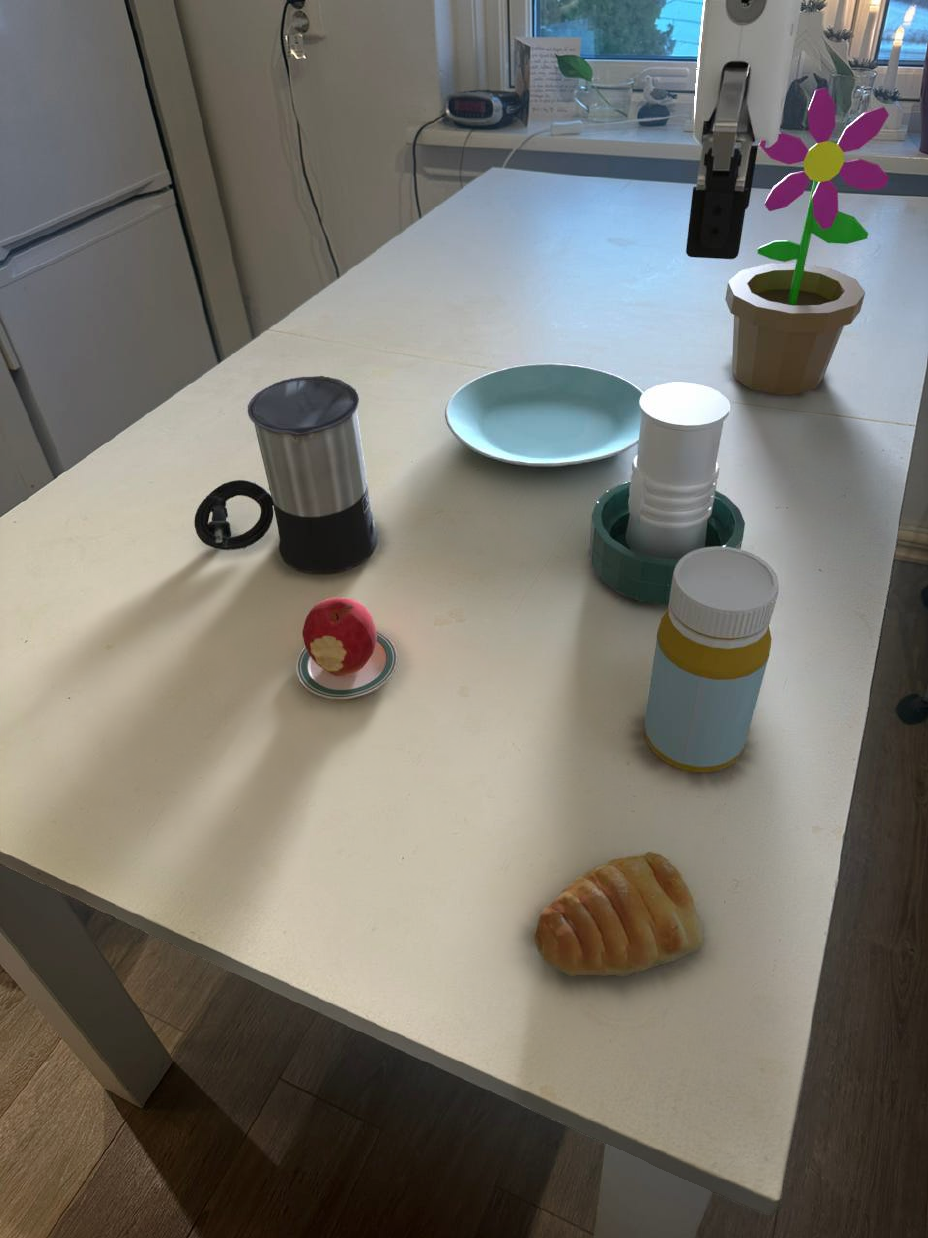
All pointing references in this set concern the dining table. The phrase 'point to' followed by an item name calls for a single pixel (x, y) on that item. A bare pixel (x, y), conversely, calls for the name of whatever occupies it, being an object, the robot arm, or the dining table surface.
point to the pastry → (620, 919)
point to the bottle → (710, 658)
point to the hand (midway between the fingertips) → (718, 230)
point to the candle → (675, 469)
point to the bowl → (644, 572)
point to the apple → (344, 651)
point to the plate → (546, 415)
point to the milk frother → (303, 479)
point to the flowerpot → (803, 261)
